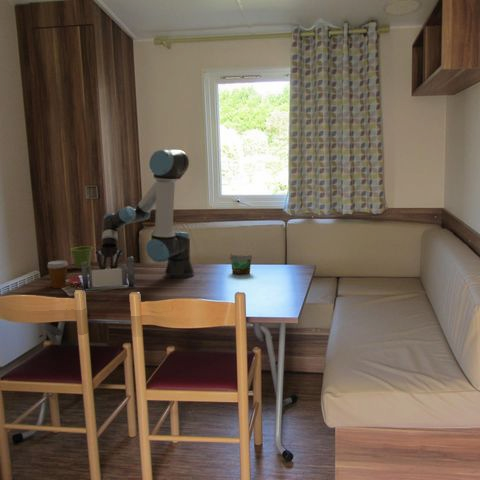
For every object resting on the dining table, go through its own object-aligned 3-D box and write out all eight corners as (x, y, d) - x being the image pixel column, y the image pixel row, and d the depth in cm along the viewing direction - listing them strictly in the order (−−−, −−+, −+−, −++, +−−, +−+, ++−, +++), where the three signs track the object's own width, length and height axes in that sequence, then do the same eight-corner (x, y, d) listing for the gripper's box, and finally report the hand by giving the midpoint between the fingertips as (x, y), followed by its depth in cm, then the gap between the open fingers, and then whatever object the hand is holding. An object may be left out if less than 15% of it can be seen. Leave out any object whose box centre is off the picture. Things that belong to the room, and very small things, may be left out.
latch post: (136, 285, 251) (134, 255, 248) (135, 287, 247) (133, 256, 245) (128, 286, 250) (126, 255, 248) (127, 288, 247) (126, 257, 244)
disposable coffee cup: (63, 289, 247) (61, 264, 245) (44, 288, 249) (42, 264, 247) (73, 284, 256) (71, 260, 254) (55, 283, 258) (53, 259, 256)
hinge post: (90, 287, 249) (88, 261, 246) (89, 289, 245) (87, 262, 243) (82, 288, 248) (80, 261, 246) (81, 290, 245) (79, 263, 242)
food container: (226, 274, 271) (225, 255, 269) (230, 271, 277) (230, 253, 275) (248, 276, 266) (247, 257, 265) (252, 273, 272) (252, 254, 270)
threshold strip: (127, 286, 250) (127, 285, 250) (126, 288, 247) (126, 287, 247) (91, 288, 248) (91, 287, 248) (90, 289, 245) (90, 289, 245)
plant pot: (84, 264, 300) (83, 245, 298) (98, 267, 293) (96, 247, 291) (67, 268, 291) (65, 248, 289) (80, 271, 284) (79, 251, 282)
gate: (89, 287, 246) (88, 267, 244) (89, 286, 248) (88, 266, 246) (127, 285, 250) (126, 264, 248) (127, 283, 252) (125, 263, 250)
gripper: (124, 244, 267) (123, 284, 254) (96, 245, 266) (94, 285, 253) (122, 235, 261) (121, 276, 248) (94, 237, 260) (91, 278, 247)
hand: (107, 281), depth 250 cm, fingers closed
